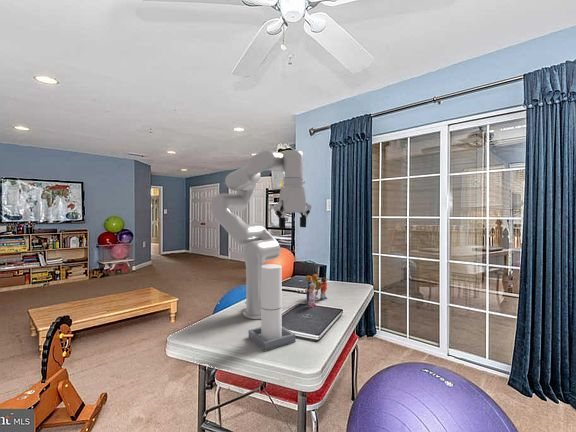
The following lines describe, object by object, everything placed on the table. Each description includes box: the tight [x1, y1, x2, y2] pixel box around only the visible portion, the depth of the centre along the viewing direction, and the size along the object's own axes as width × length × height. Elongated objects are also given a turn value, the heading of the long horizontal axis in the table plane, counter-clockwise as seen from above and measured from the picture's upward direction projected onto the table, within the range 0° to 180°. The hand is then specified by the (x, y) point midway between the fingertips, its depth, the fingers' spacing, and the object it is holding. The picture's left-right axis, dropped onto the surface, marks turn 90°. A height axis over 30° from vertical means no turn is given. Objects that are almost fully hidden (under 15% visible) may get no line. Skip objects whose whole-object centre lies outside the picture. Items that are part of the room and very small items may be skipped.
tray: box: [248, 325, 296, 352], centre depth 104 cm, size 12×12×2 cm
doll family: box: [304, 273, 328, 309], centre depth 144 cm, size 21×10×13 cm, turn 151°
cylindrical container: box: [260, 263, 283, 341], centre depth 104 cm, size 7×7×25 cm
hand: (292, 227), depth 115 cm, fingers open, 9 cm apart
